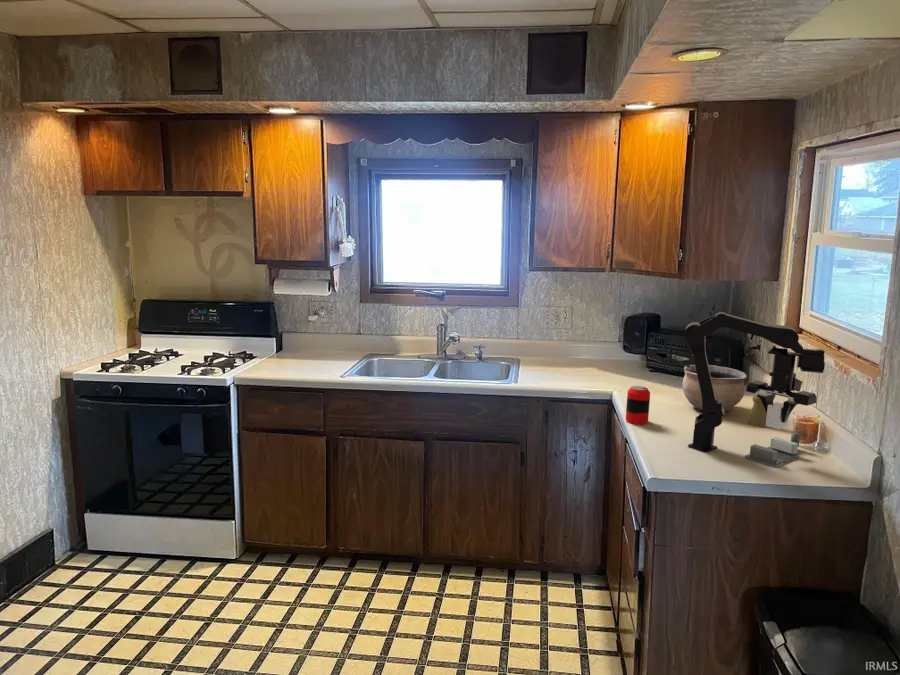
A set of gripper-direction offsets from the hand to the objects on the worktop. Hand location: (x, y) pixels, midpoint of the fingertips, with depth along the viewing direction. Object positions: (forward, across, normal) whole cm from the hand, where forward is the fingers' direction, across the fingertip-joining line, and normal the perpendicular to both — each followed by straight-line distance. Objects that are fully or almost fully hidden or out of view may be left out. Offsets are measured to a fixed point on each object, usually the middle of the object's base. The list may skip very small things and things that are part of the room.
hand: (776, 420), depth 203 cm
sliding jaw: (+10, 0, -9) cm, 14 cm away
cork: (+12, +20, -28) cm, 36 cm away
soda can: (+12, +46, +5) cm, 48 cm away
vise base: (+12, 0, 0) cm, 12 cm away
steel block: (+2, 0, 0) cm, 2 cm away
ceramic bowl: (+12, +40, -31) cm, 52 cm away
